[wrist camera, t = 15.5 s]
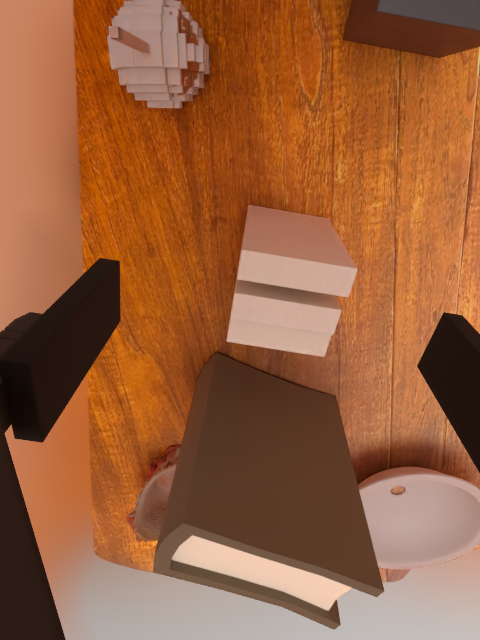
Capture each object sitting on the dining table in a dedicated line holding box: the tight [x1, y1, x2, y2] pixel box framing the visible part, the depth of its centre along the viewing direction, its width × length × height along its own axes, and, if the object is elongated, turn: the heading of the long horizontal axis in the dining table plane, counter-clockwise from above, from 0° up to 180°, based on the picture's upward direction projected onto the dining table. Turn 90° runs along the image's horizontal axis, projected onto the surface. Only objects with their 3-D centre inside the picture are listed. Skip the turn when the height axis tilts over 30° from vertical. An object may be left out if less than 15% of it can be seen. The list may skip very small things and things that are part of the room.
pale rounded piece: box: [107, 0, 210, 108], centre depth 29 cm, size 8×8×15 cm
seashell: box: [126, 445, 181, 541], centre depth 60 cm, size 17×11×15 cm
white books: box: [227, 240, 342, 357], centre depth 39 cm, size 6×9×14 cm
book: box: [153, 352, 384, 629], centre depth 43 cm, size 19×8×25 cm, turn 66°
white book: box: [237, 205, 358, 297], centre depth 35 cm, size 2×9×15 cm, turn 81°
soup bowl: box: [358, 467, 480, 569], centre depth 60 cm, size 24×24×7 cm
